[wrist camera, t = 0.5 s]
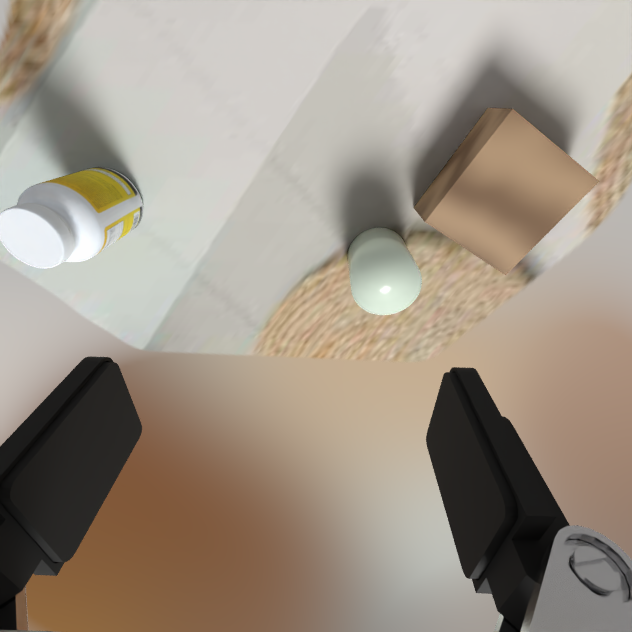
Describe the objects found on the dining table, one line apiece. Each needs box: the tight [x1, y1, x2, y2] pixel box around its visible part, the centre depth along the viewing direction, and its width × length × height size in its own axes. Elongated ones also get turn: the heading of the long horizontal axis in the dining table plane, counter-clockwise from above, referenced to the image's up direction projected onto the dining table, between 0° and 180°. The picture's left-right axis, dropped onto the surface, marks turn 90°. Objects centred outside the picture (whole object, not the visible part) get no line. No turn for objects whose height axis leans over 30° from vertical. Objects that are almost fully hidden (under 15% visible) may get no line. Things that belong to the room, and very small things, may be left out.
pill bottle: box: [0, 167, 143, 269], centre depth 30 cm, size 6×6×12 cm
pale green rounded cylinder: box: [348, 228, 422, 315], centre depth 34 cm, size 6×6×7 cm
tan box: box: [414, 108, 599, 275], centre depth 31 cm, size 10×10×5 cm
